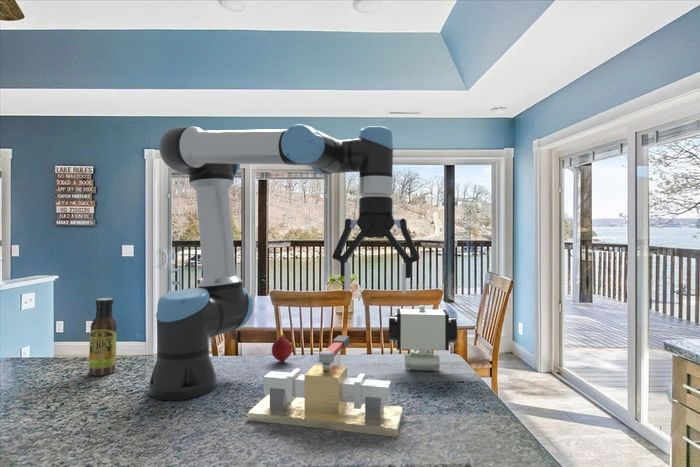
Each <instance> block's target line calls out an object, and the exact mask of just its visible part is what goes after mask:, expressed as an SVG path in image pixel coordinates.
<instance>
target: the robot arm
mask: <svg viewBox="0 0 700 467" xmlns="http://www.w3.org/2000/svg"><path fill="white" fill-rule="evenodd" d="M393 145H394V144H393V132H392V130H391V129H389V127H386V126H378V125H376V126H375V125H371V126H366V127H362V128H361V129H360V130H359V135H358V138H353V139H342V140H341V139H336V138H335V137H332V136H331V135H328V134H326V133H324V132H321V131H320V130H317V129H316V128H315V127H312V126H310V125H305V124H300V123H298V124H293V125H291V126H290V127H288V128H287V129H286V128H284V129H283V128H282V129H280V128H279V129H235V130H234V129H233V130H232V129H229V130H228V129H226V130H203V129H201V128H200V127H198V126H176V127H171V128H170V129H168V130H167V131H166V132H165V133H164V134H163V135H162V137H161V138H160V142H159V146H158V147H159V148H158V149H159V154H160V157H161V159H162V161H163V162H164V164H165V165H166V166H167V167H169V168H170V169H171V170H173V171H175V172H178V173H181V174H186V175H188V182H189V186H190V187H192V188H193V190H195V195H196V207H197V217H198V218H197V219H198V220H197V221H198V231H199V240H200V241H199V243H200V254H201V255H200V256H201V268H202V280H201V281H200V282H199V283H198V284H197V287H191V288H185V289H179V290H178V289H177V290H173V291H170V292H167V293H165V294H163V295H162V296H160V297H159V299H158V302H157V306H156V308H157V310H156V314H155V318H156V351H157V352H156V361H155V364H154V367H153V371H152V373H151V377H150V380H149V383H148V395H149V397H151V398H153V399H156V400H160V401H180V400H188V399H194V398H197V397H200V396H204V395H206V394H207V393H210V392H211V391H213V390H214V389H216V387H217V374H216V371H215V369H214V366H213V362H212V358H211V357H210V352H209V351H210V349H209V348H210V339H211V338H213V337H217V336H220V335H222V334H226V333H231V332H234V331H236V330H238V329H240V328H242V327H244V326H245V325H246V324H247V323H248V322H249V320H250V319H251V316H252V314H253V308H254V301H253V297H252V295H251V294H250V293H249V291H248V289H246V288H245V287H244V285H243V280H242V279H241V278H240V277H239V276H238V275H237V271H236V270H237V269H236V261H235V258H236V257H235V247H234V236H233V227H232V226H233V224H232V214H231V212H232V211H231V210H232V209H231V202H230V201H231V200H230V191H229V190H230V188H231V187H232V186H233V184H234V183H235V181H234V177H236V176H237V174H238V171H239V170H240V168H241V165H288V166H291V165H292V166H308V167H311V169H313V171H314V172H315V173H316V174H320V175H321V174H322V175H324V174H325V175H326V174H327V175H332V174H342V173H358V172H359V187H358V188H359V189H358V191H359V192H358V194H359V195H360V196H361V197H360V198H359V201H358V205H359V206H358V207H359V210H358V211H359V212H358V218H357V219H352V218H346V219H345V220H344V221H345V222H344V229H343V231H342V234H341V236H340V238H339V240H338V241H337V242H338V243H337V245H336V247H335V249H334V251H333V254H332V259H333V260H336V261H338V262H340V265H339V266H340V267H339V270H340V271H339V272H340V276H341V277H344V292H350V291H351V261H349V258H350V257H351V256H352V255H353V253H355V251H356V250H357V248H358V247H359V246H360V245H361V243H362V242H363V240H364V239H366V238H369V239H372V238H376V239H383V238H386V239H387V240H388V241H389V243H390V244H391V245H392V246H393V248H394V249H395V250H396V252H397V253H398V254H399V256H400V257H401V259H403V261H404V262H402V263H401V294H406V293H407V279H411V277H412V263H414V262H418V261H419V260H420V257H421V256H420V255H419V253H418V250H417V248H416V246H415V244H414V241H413V238H412V237H411V234H410V233H409V230H408V224H407V220H406V219H405V218H399V219H395V218H394V217H393V204H394V203H393V198H392V197H391V196H392V195H393V194H394V193H393V192H394V190H393V186H394V184H393V182H394V181H393V175H394V174H393V169H394V168H393V165H394V164H393V163H394V162H393V159H394V146H393ZM356 225H357V226H358V227H359V230H360V231H359V233H358V234H357V236H356V238H355V239H354V240H353V241H352V243H351V244H350V245H349V247H348V248H347V249H346V250H345V251H344V248H345V247H346V244H347V243H348V242H347V241H348V239H349V237H350V235H351V233H352V229H355V227H356ZM394 226H396V228H397V229H400V231H401V234H402V236H403V238H404V241H405V243H406V245H407V247H408V249H409V252H410V254H411V256H409V254H408V253H407V252H406V250H405V248H404V247H403V246H402V245H401V244H400V242H399V241H398V240H397V239H396V237H395V236H394V234H393V233H392V231H391V230H392V228H394ZM343 251H344V253H343ZM342 253H343V254H342Z"/></svg>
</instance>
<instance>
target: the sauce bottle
mask: <svg viewBox="0 0 700 467" xmlns="http://www.w3.org/2000/svg"><path fill="white" fill-rule="evenodd" d="M113 304H114V299H113V298H112V297H100V298H96V299H95V308H96V309H95V318H94V319H93V321H92V322H91V323H90V332H89V352H88V354H89V355H88V368H89V369H88V371H89V372H88V373H89V374H90V375H91V376H105V375H106V376H107V375H110V374H112V373H114V372H115V370H116V362H117V334H118V333H117V322H116V320H115V318H114V317H113Z"/></svg>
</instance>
